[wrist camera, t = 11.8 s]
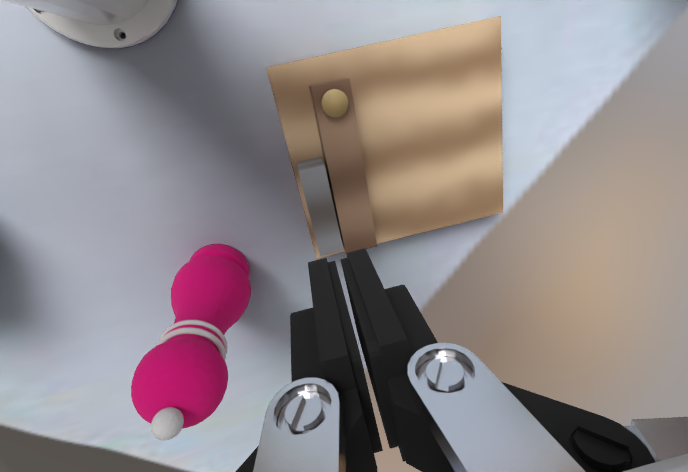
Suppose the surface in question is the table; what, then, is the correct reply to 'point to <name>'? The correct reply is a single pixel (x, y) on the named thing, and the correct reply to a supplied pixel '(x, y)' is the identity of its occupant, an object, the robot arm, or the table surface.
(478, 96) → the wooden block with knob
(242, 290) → the pepper mill
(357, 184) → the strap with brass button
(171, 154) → the table surface
